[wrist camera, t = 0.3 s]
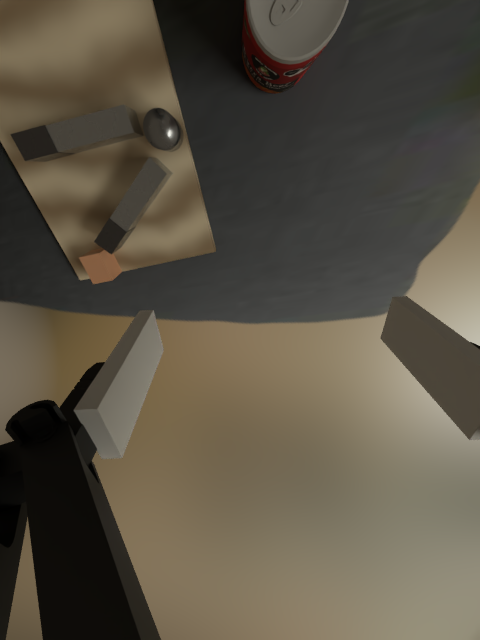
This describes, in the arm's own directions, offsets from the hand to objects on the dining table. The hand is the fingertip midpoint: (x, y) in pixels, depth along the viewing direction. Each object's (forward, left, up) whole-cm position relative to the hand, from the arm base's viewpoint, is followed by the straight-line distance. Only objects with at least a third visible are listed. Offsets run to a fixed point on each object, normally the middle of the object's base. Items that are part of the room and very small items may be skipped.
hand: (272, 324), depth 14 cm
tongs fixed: (-13, -14, -26) cm, 32 cm away
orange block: (0, -22, -26) cm, 34 cm away
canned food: (-18, +7, -27) cm, 33 cm away
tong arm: (-6, -14, -26) cm, 30 cm away
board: (-13, -16, -27) cm, 34 cm away
